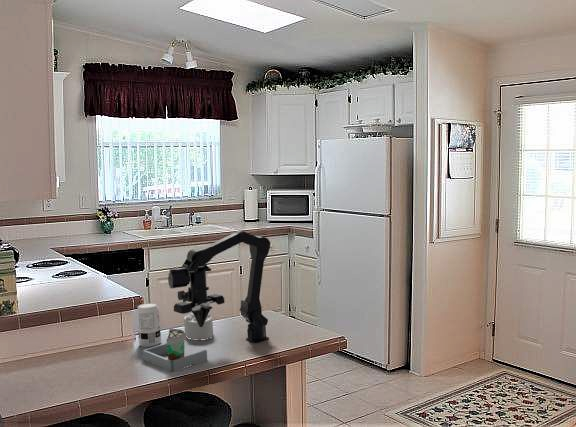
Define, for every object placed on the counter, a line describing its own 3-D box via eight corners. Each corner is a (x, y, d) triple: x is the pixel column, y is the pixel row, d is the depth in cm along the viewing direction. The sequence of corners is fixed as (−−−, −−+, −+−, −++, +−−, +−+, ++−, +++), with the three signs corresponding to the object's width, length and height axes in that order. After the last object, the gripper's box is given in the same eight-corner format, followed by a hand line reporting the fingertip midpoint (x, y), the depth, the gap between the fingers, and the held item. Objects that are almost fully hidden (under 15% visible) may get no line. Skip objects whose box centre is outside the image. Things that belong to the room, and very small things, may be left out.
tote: (177, 349, 220) (176, 340, 219) (207, 360, 206) (206, 350, 206) (142, 359, 210) (142, 350, 210) (172, 372, 197) (171, 361, 196)
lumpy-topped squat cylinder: (207, 329, 243) (206, 308, 242) (217, 337, 231) (216, 316, 230) (182, 333, 239) (181, 312, 238) (191, 342, 227) (190, 320, 226)
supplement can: (134, 345, 227) (132, 306, 226) (153, 339, 233) (150, 301, 232) (147, 349, 222) (144, 309, 220) (165, 343, 228) (162, 304, 226)
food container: (186, 366, 201) (184, 337, 200) (168, 368, 201) (166, 339, 200) (188, 354, 214) (186, 327, 213) (171, 355, 213) (169, 328, 212)
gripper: (206, 277, 226) (208, 317, 228) (163, 286, 213) (166, 328, 215) (224, 280, 218) (226, 322, 220) (181, 290, 205) (184, 334, 207)
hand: (200, 326), depth 216 cm, fingers closed
